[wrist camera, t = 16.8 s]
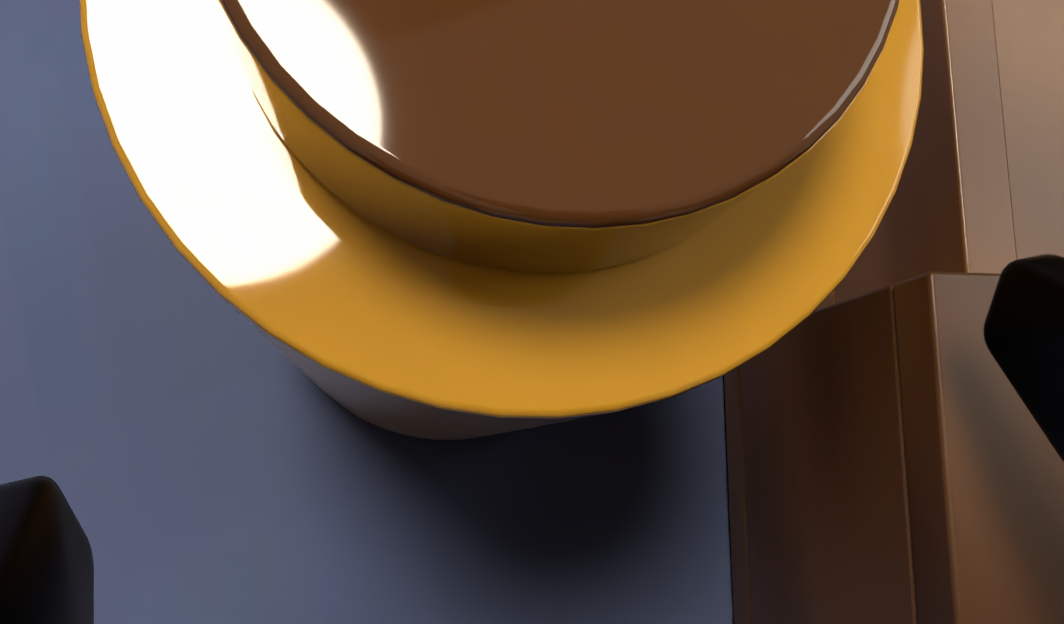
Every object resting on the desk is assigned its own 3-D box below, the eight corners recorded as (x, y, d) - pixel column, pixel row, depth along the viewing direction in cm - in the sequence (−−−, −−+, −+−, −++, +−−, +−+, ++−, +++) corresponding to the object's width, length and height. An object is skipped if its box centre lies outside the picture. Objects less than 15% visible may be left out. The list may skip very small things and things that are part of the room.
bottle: (682, 260, 17) (1226, -99, 6) (459, 515, 15) (630, 669, 4) (438, 36, 17) (529, -750, 6) (193, 271, 15) (-309, -187, 4)
